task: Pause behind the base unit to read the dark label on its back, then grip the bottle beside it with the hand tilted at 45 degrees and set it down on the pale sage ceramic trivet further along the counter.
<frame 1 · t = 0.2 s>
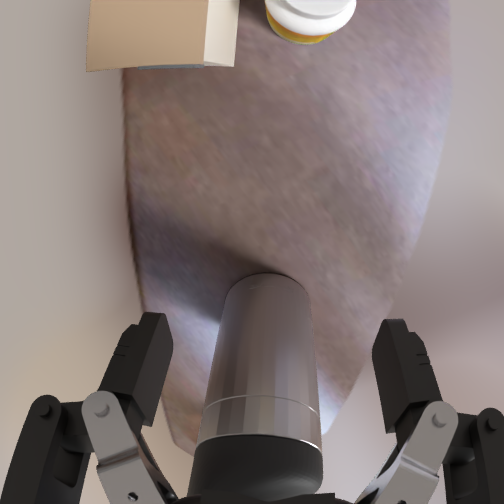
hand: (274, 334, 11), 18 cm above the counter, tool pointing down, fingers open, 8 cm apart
base unit: (205, 26, 20), on the counter
supplement bottle: (301, 15, 19), on the counter
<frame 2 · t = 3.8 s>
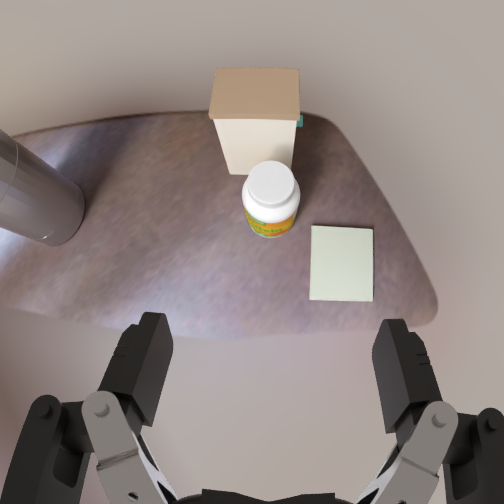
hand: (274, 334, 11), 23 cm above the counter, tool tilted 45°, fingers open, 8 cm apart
base unit: (260, 156, 37), on the counter
trivet: (341, 264, 34), on the counter
supplement bottle: (271, 215, 36), on the counter
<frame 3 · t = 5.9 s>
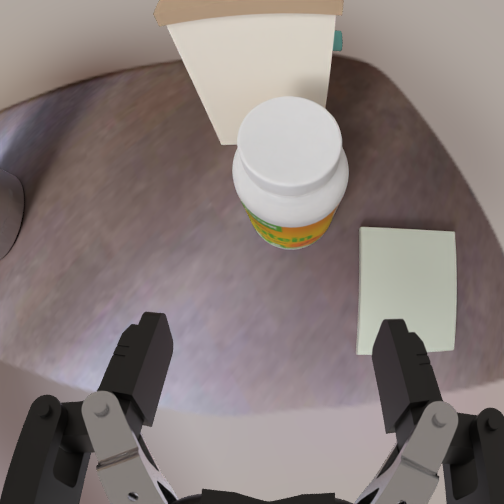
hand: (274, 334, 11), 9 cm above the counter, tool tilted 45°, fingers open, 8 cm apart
base unit: (271, 115, 22), on the counter
trivet: (408, 291, 19), on the counter
supplement bottle: (291, 210, 21), on the counter
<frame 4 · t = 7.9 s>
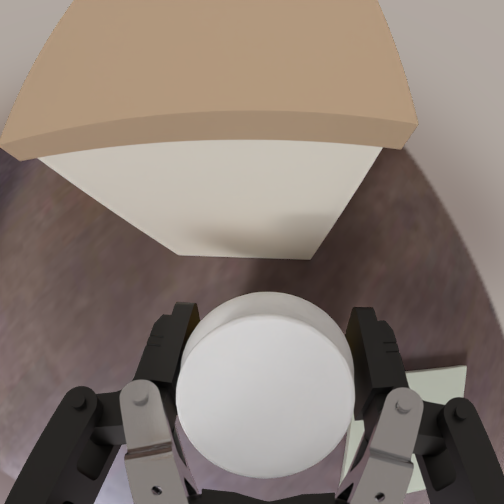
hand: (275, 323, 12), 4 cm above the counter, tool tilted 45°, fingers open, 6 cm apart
base unit: (245, 211, 17), on the counter
trivet: (403, 436, 14), on the counter
supplement bottle: (268, 352, 16), on the counter, touching gripper
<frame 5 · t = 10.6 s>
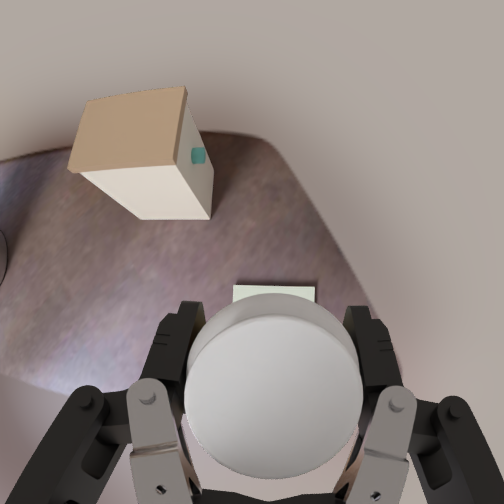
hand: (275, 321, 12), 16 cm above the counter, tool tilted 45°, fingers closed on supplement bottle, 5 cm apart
base unit: (177, 194, 30), on the counter
trivet: (272, 332, 27), on the counter
supplement bottle: (271, 353, 16), point 12 cm above the counter, touching gripper
when the fingers open (6 cm above the counter, at t = 12.9 s): supplement bottle drops 1 cm, resting on trivet.
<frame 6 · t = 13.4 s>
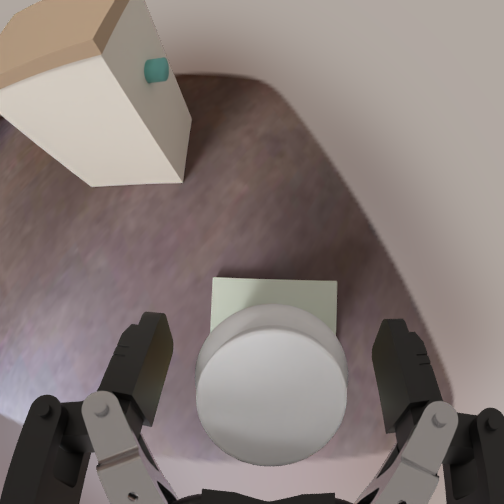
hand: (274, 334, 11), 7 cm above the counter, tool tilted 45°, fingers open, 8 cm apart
base unit: (140, 152, 21), on the counter
trivet: (272, 349, 18), on the counter
supplement bottle: (271, 353, 17), resting on trivet
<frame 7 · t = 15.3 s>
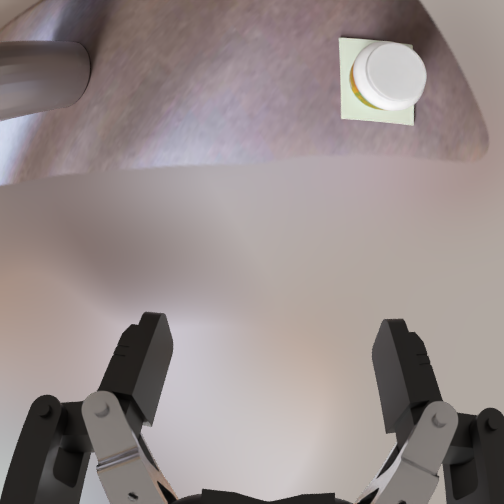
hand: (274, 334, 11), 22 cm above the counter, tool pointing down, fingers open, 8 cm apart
trivet: (377, 80, 25), on the counter
supplement bottle: (377, 81, 24), resting on trivet
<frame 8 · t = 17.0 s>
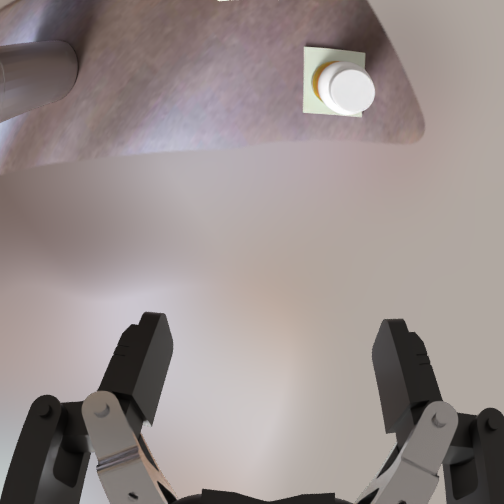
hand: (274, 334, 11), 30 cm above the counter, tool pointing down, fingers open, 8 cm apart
trivet: (333, 81, 32), on the counter
supplement bottle: (333, 82, 32), resting on trivet
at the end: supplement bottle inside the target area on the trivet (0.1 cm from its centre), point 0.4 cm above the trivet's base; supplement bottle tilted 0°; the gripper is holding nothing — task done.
